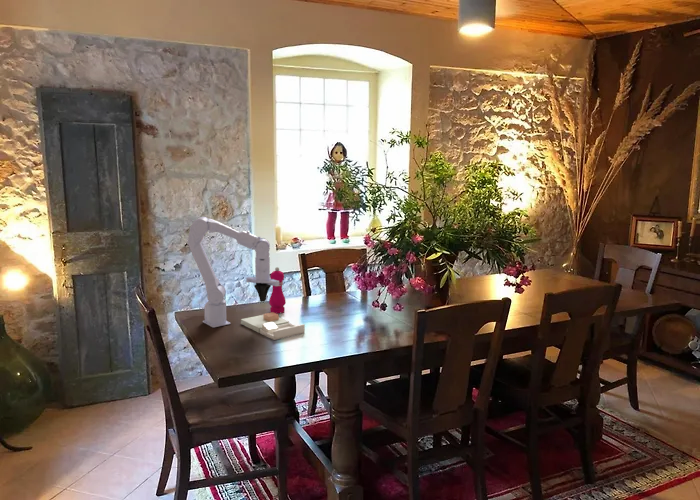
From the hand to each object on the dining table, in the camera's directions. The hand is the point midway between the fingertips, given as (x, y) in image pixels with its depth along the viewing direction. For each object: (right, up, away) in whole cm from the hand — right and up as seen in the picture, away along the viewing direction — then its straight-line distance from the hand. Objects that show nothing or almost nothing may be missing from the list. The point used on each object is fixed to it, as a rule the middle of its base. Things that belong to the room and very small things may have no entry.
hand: (262, 301), depth 230 cm
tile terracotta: (+3, -7, +1) cm, 8 cm away
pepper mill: (+4, -6, +18) cm, 20 cm away
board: (+1, -10, -1) cm, 10 cm away
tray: (+9, -12, -10) cm, 18 cm away
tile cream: (+4, -10, -10) cm, 15 cm away
